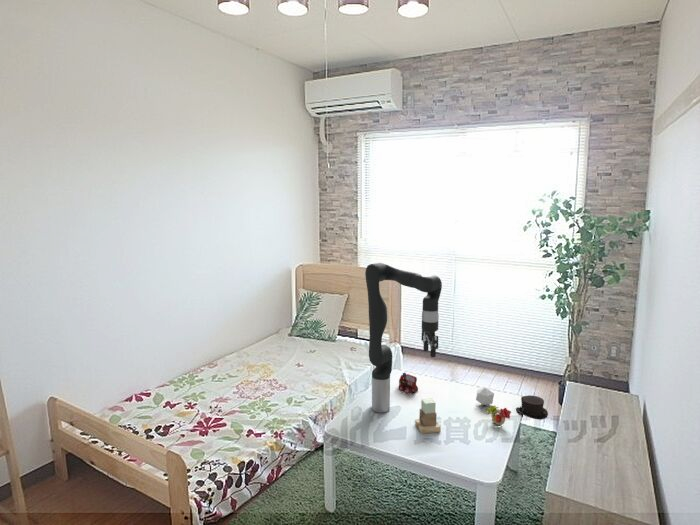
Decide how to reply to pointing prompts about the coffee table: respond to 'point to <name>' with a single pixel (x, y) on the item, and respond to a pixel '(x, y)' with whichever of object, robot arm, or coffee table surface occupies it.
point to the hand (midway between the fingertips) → (429, 354)
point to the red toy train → (408, 383)
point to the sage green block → (428, 405)
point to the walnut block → (427, 419)
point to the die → (484, 396)
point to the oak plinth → (427, 429)
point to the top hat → (532, 407)
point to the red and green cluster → (499, 414)
